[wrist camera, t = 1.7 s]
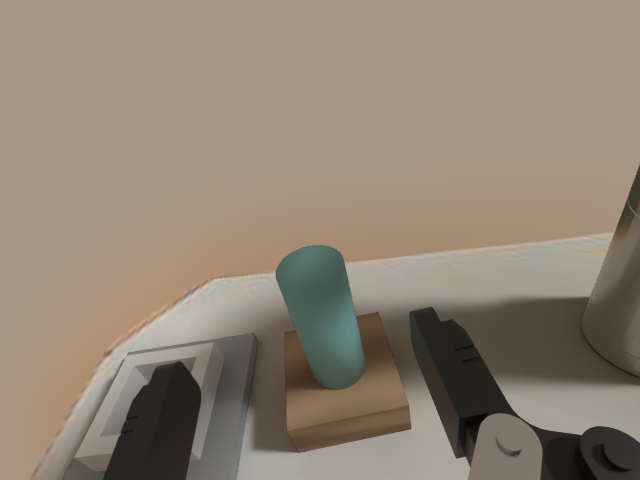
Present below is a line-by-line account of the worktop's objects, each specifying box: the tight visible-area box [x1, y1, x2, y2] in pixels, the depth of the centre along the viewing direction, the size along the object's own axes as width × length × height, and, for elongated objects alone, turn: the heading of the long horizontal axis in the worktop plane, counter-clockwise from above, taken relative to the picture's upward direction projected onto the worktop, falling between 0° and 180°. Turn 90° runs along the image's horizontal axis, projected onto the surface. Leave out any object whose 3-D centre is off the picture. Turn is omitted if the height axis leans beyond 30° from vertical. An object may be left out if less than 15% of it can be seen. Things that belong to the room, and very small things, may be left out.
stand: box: [285, 312, 411, 452], centre depth 32 cm, size 10×10×4 cm
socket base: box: [63, 333, 258, 480], centre depth 33 cm, size 16×16×4 cm
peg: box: [276, 245, 365, 390], centre depth 27 cm, size 5×5×12 cm
